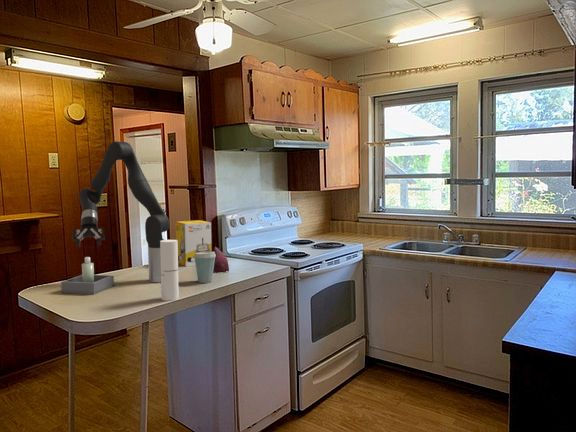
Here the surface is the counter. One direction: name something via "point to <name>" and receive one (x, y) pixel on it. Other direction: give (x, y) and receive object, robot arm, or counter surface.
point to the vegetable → (220, 262)
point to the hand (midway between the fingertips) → (88, 246)
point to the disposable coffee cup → (205, 266)
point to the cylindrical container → (169, 270)
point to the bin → (87, 285)
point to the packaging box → (192, 240)
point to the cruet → (88, 271)
